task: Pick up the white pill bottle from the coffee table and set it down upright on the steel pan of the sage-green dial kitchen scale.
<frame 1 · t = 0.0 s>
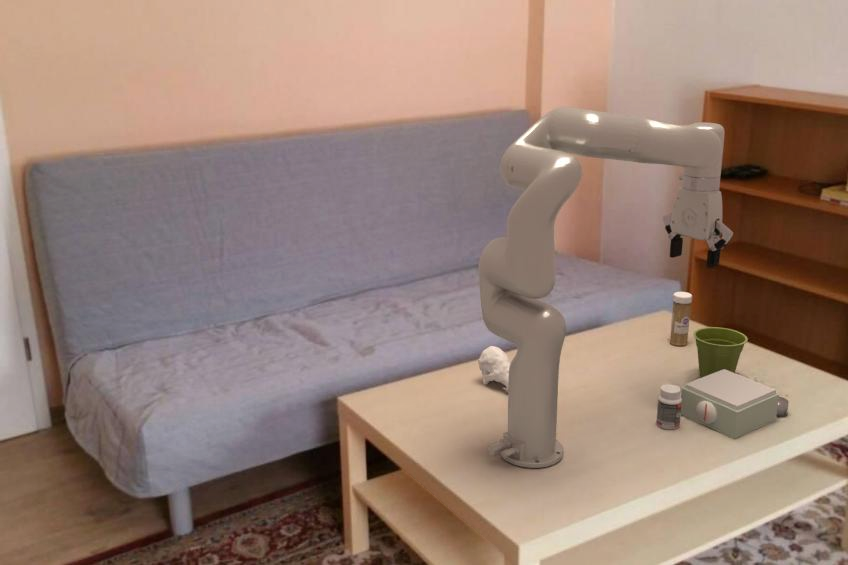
hand: (693, 261, 190), 31 cm above the table, tool pointing down, fingers open, 9 cm apart
plant pot: (715, 381, 206), on the table
scale: (727, 416, 189), on the table
pill bottle: (667, 425, 186), on the table
white lumpy rounded piece: (502, 387, 204), on the table
sprinkles bottle: (678, 344, 228), on the table
spacer b: (776, 413, 190), on the table
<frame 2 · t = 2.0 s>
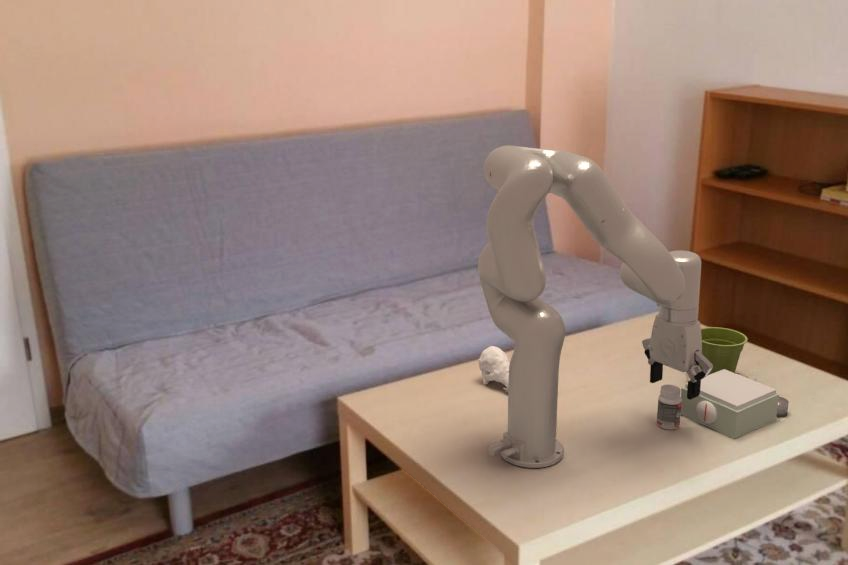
hand: (674, 389, 183), 8 cm above the table, tool pointing down, fingers open, 9 cm apart
nothing on the table moved.
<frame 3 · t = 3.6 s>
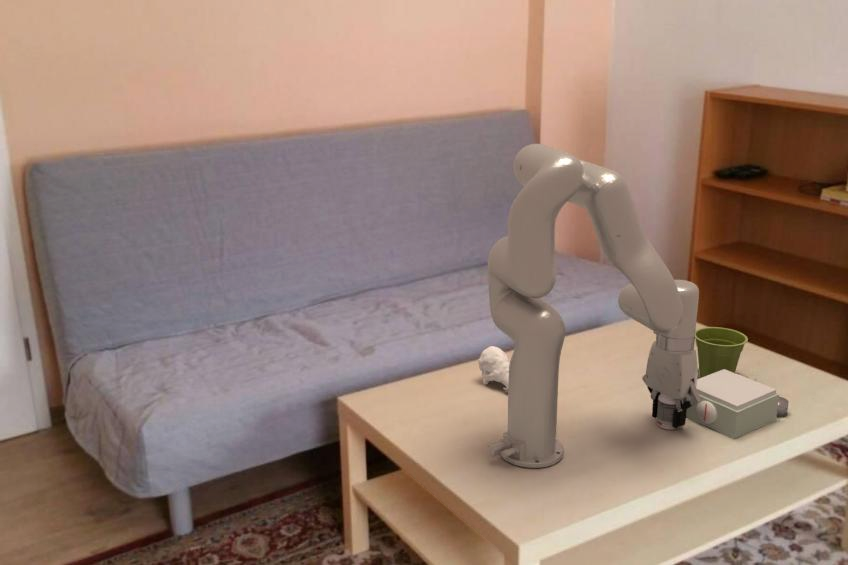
hand: (668, 420, 185), 1 cm above the table, tool pointing down, fingers closed on pill bottle, 4 cm apart
pill bottle: (667, 425, 186), on the table, touching gripper
everything else where it was.
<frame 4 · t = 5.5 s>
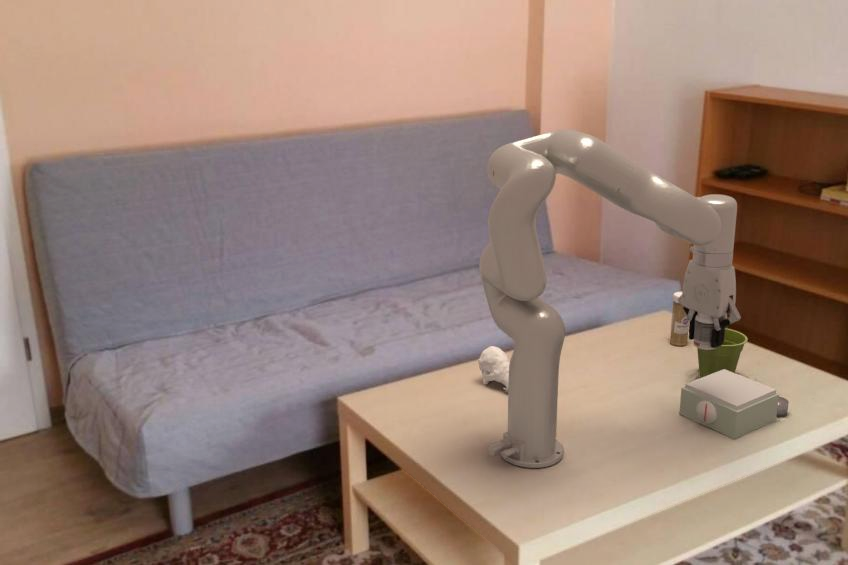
hand: (705, 341, 182), 18 cm above the table, tool pointing down, fingers closed on pill bottle, 4 cm apart
pill bottle: (705, 346, 182), point 17 cm above the table, touching gripper
everything else where it was.
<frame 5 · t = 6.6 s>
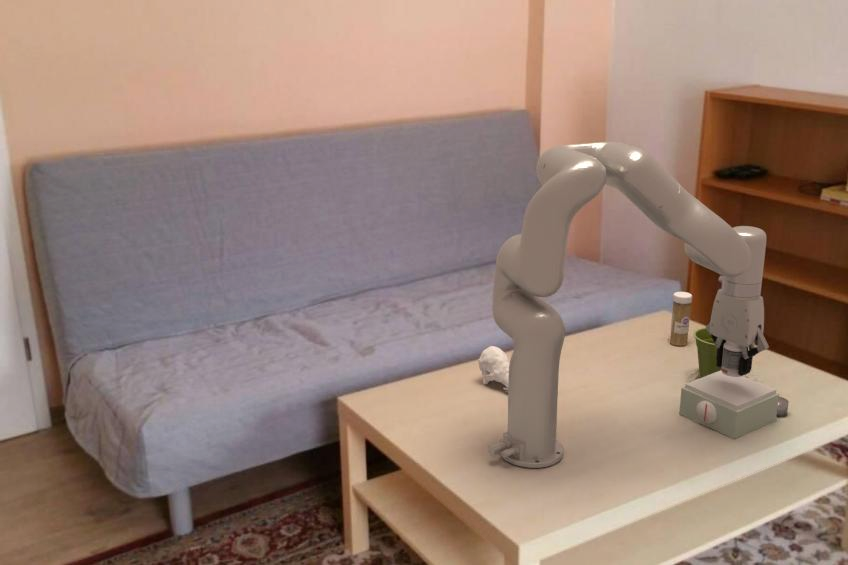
hand: (733, 368, 185), 11 cm above the table, tool pointing down, fingers closed on pill bottle, 4 cm apart
pill bottle: (732, 373, 186), point 10 cm above the table, touching gripper
everything else where it was.
when the fingers open (9 cm above the table, at t = 7.5 s): pill bottle drops 1 cm, resting on scale.
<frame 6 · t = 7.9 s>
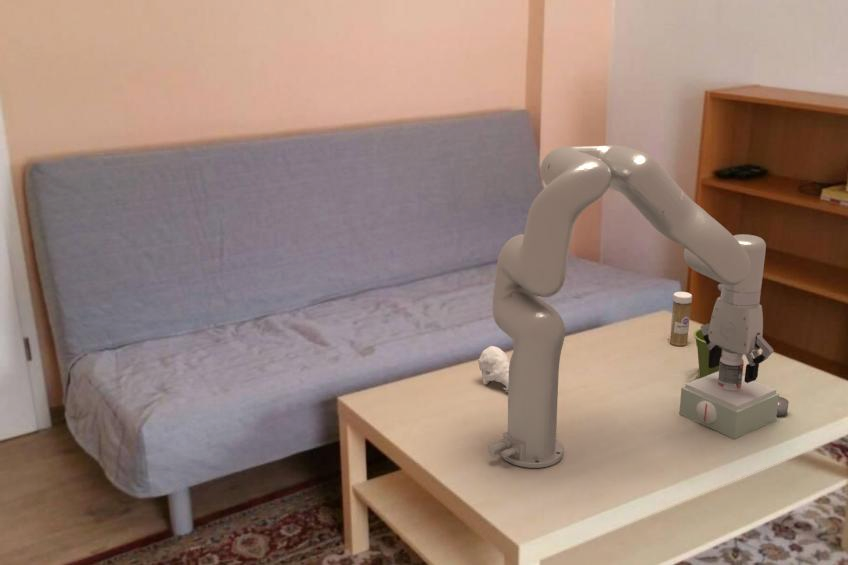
hand: (731, 373, 186), 10 cm above the table, tool pointing down, fingers open, 8 cm apart
pill bottle: (729, 387, 187), point 7 cm above the table, touching scale
everything else where it was.
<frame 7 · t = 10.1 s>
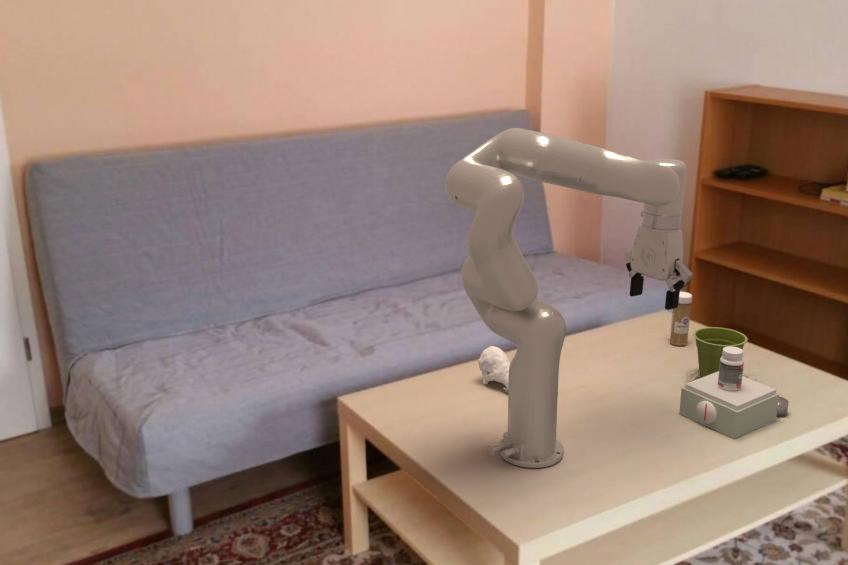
hand: (653, 301, 183), 25 cm above the table, tool pointing down, fingers open, 9 cm apart
nothing on the table moved.
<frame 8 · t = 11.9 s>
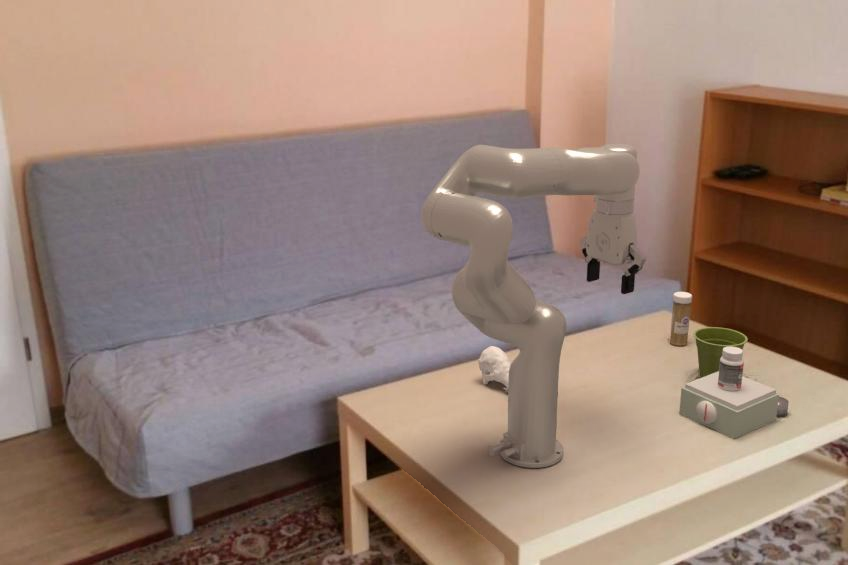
hand: (609, 286, 184), 28 cm above the table, tool pointing down, fingers open, 9 cm apart
nothing on the table moved.
at the end: pill bottle inside the target area on the scale (0.2 cm from its centre), point 6.8 cm above the scale's base; pill bottle tilted 0°; the gripper is holding nothing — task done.
